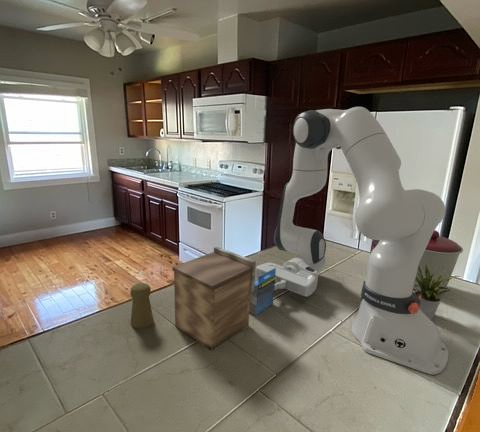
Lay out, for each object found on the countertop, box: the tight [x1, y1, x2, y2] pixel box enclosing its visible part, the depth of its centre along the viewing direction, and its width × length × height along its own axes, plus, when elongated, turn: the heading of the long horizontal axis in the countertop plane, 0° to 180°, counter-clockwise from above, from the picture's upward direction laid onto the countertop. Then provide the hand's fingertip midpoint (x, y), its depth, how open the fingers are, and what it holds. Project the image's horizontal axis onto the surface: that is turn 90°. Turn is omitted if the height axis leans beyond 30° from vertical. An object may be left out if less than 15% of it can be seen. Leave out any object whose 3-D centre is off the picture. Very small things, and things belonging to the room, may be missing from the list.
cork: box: [129, 282, 154, 330], centre depth 84 cm, size 6×6×11 cm
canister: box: [413, 229, 464, 294], centre depth 109 cm, size 18×18×21 cm
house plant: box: [413, 263, 460, 320], centre depth 93 cm, size 14×14×16 cm
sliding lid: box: [172, 246, 257, 292], centre depth 81 cm, size 14×16×9 cm
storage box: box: [173, 271, 251, 351], centre depth 83 cm, size 14×14×16 cm
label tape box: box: [249, 268, 276, 316], centre depth 93 cm, size 9×4×12 cm, turn 140°
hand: (270, 286), depth 96 cm, fingers closed, pressing on label tape box
